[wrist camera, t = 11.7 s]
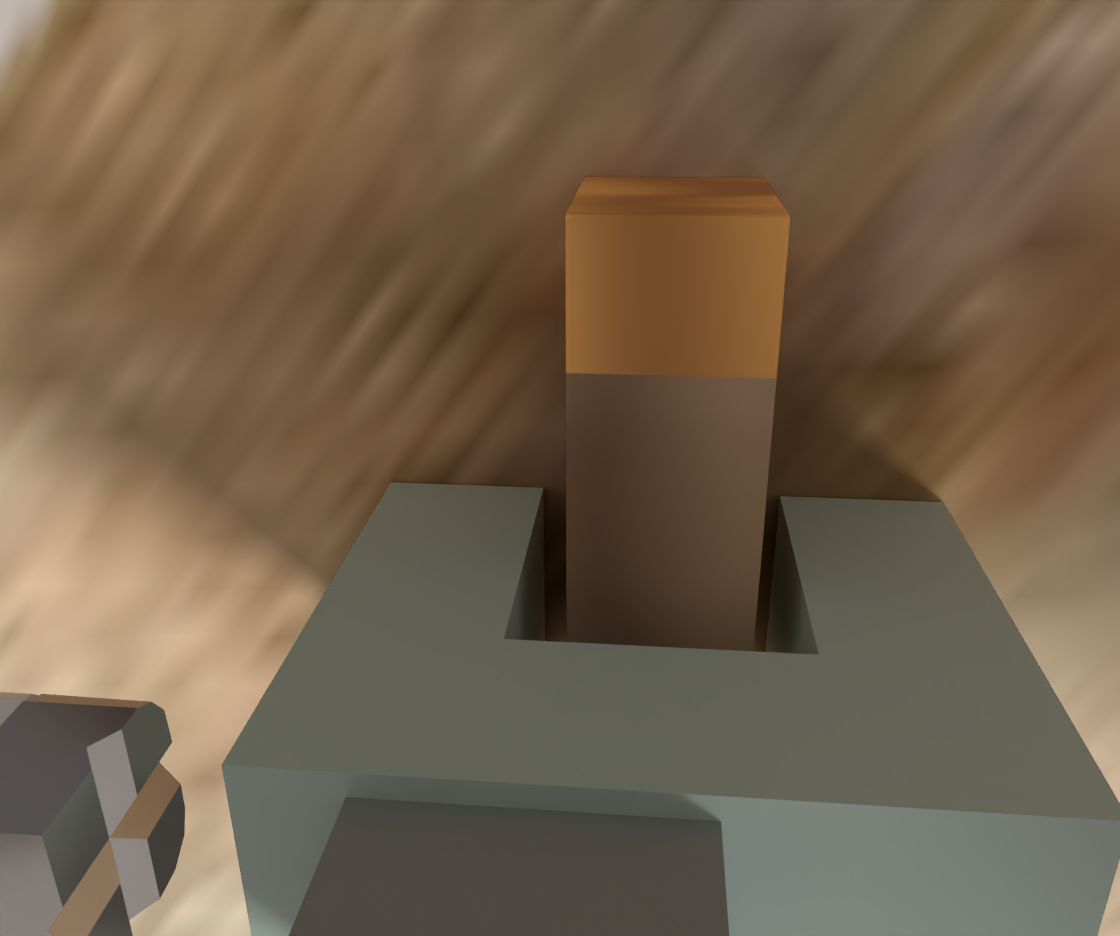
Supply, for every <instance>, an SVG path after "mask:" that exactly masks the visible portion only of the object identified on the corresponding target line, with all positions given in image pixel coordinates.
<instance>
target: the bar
mask: <svg viewBox="0 0 1120 936" xmlns="http://www.w3.org/2000/svg"><path fill="white" fill-rule="evenodd" d="M790 218H791V217H790V215H789V214H788V212H787V211H786V209H785V208H784V206H783V205H782V203H781V202H780V200H779V199H778V197H777V196H776V194H775V192H774V191H773V189H772V188H771V186H770V185H769V183H768V182H767V180H766V179H765V178H726V177H598V176H585V178H584V180H583V182H582V184H581V185H580V187H579V189H578V191H577V193H576V195H575V197H574V199H573V201H572V203H571V205H570V207H569V208H568V210H567V212H566V214H565V256H566V608H567V642H573V643H593V644H614V645H634V646H654V647H674V648H694V649H715V650H735V651H753V648H754V637H755V625H756V613H757V602H758V590H759V578H760V567H761V555H762V544H763V532H764V520H765V509H766V497H767V486H768V474H769V462H770V451H771V439H772V427H773V416H774V404H775V393H776V381H777V369H778V358H779V346H780V335H781V323H782V311H783V300H784V288H785V276H786V265H787V253H788V242H789V230H790Z"/></svg>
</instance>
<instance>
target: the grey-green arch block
mask: <svg viewBox="0 0 1120 936" xmlns="http://www.w3.org/2000/svg"><path fill="white" fill-rule="evenodd" d="M222 770H223V776H224V781H225V787H226V793H227V798H228V804H229V810H230V815H231V821H232V827H233V832H234V838H235V844H236V849H237V855H238V861H239V866H240V872H241V878H242V884H243V889H244V895H245V901H246V906H247V912H248V918H249V923H250V929H251V935H252V936H1097V935H1098V931H1099V928H1100V924H1101V921H1102V917H1103V914H1104V911H1105V907H1106V904H1107V900H1108V897H1109V893H1110V890H1111V886H1112V883H1113V879H1114V876H1115V873H1116V869H1117V866H1118V862H1119V859H1120V803H1119V801H1118V800H1117V798H1116V796H1115V795H1114V793H1113V791H1112V790H1111V788H1110V786H1109V784H1108V783H1107V781H1106V779H1105V778H1104V776H1103V774H1102V772H1101V771H1100V769H1099V767H1098V766H1097V764H1096V762H1095V760H1094V759H1093V757H1092V755H1091V754H1090V752H1089V750H1088V748H1087V747H1086V745H1085V743H1084V742H1083V740H1082V738H1081V737H1080V735H1079V733H1078V731H1077V730H1076V728H1075V726H1074V725H1073V723H1072V721H1071V719H1070V718H1069V716H1068V714H1067V713H1066V711H1065V709H1064V707H1063V706H1062V704H1061V702H1060V701H1059V699H1058V697H1057V695H1056V694H1055V692H1054V690H1053V689H1052V687H1051V685H1050V684H1049V682H1048V680H1047V678H1046V677H1045V675H1044V673H1043V672H1042V670H1041V668H1040V666H1039V665H1038V663H1037V661H1036V660H1035V658H1034V656H1033V654H1032V653H1031V651H1030V649H1029V648H1028V646H1027V644H1026V642H1025V641H1024V639H1023V637H1022V636H1021V634H1020V632H1019V631H1018V629H1017V627H1016V625H1015V624H1014V622H1013V620H1012V619H1011V617H1010V615H1009V613H1008V612H1007V610H1006V608H1005V607H1004V605H1003V603H1002V601H1001V600H1000V598H999V596H998V595H997V593H996V591H995V589H994V588H993V586H992V584H991V583H990V581H989V579H988V578H987V576H986V574H985V572H984V571H983V569H982V567H981V566H980V564H979V562H978V560H977V559H976V557H975V555H974V554H973V552H972V550H971V548H970V547H969V545H968V543H967V542H966V540H965V538H964V536H963V535H962V533H961V531H960V530H959V528H958V526H957V525H956V523H955V521H954V519H953V518H952V516H951V514H950V513H949V511H948V509H947V507H946V506H945V504H944V502H929V501H901V500H873V499H846V498H818V497H790V496H780V501H779V512H778V523H777V534H776V545H775V555H774V566H773V577H772V588H771V599H770V610H769V620H768V631H767V642H766V652H755V651H735V650H715V649H694V648H674V647H654V646H634V645H614V644H593V643H573V642H553V641H545V581H544V501H543V488H538V487H510V486H483V485H455V484H427V483H399V482H391V483H390V485H389V486H388V488H387V490H386V491H385V493H384V495H383V496H382V498H381V500H380V501H379V503H378V505H377V506H376V508H375V510H374V511H373V513H372V515H371V516H370V518H369V520H368V521H367V523H366V525H365V526H364V528H363V530H362V531H361V533H360V535H359V536H358V538H357V540H356V541H355V543H354V545H353V546H352V548H351V550H350V551H349V553H348V555H347V556H346V558H345V560H344V561H343V563H342V565H341V566H340V568H339V570H338V571H337V573H336V575H335V576H334V578H333V580H332V581H331V583H330V585H329V586H328V588H327V590H326V592H325V593H324V595H323V597H322V598H321V600H320V602H319V603H318V605H317V607H316V608H315V610H314V612H313V613H312V615H311V617H310V618H309V620H308V622H307V623H306V625H305V627H304V628H303V630H302V632H301V633H300V635H299V637H298V638H297V640H296V642H295V643H294V645H293V647H292V648H291V650H290V652H289V653H288V655H287V657H286V658H285V660H284V662H283V663H282V665H281V667H280V668H279V670H278V672H277V673H276V675H275V677H274V678H273V680H272V682H271V683H270V685H269V687H268V688H267V690H266V692H265V693H264V695H263V697H262V698H261V700H260V702H259V703H258V705H257V707H256V708H255V710H254V712H253V713H252V715H251V717H250V719H249V720H248V722H247V724H246V725H245V727H244V729H243V730H242V732H241V734H240V735H239V737H238V739H237V740H236V742H235V744H234V745H233V747H232V749H231V750H230V752H229V754H228V755H227V757H226V759H225V760H224V762H223V764H222Z"/></svg>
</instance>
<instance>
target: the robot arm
mask: <svg viewBox="0 0 1120 936" xmlns="http://www.w3.org/2000/svg"><path fill="white" fill-rule="evenodd" d="M171 743H172V740H171V736H170V732H169V728H168V724H167V720H166V716H165V712H164V710H163V709H162V708H160V707H159V706H157V705H156V704H154V703H152V702H148V701H134V700H120V699H106V698H92V697H77V696H63V695H49V694H40V695H34V694H25V693H9V692H0V936H133V935H132V931H131V927H130V923H129V920H130V919H131V918H133V917H134V916H135V915H137V914H138V913H140V912H141V911H143V910H144V909H146V908H147V907H148V906H150V905H151V904H153V903H154V902H156V901H157V900H159V899H160V897H161V896H162V894H163V892H164V890H165V888H166V886H167V884H168V882H169V880H170V878H171V877H172V875H173V873H174V871H175V868H176V864H177V861H178V857H179V853H180V849H181V845H182V841H183V838H184V823H185V806H184V800H183V795H182V789H181V784H180V783H179V782H178V781H177V780H176V779H175V778H174V777H173V776H172V775H171V774H170V773H169V772H168V771H167V770H166V769H165V768H164V767H163V766H162V765H161V764H160V763H159V761H160V760H161V758H162V757H163V755H164V754H165V752H166V750H167V749H168V747H169V746H170V744H171Z"/></svg>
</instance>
